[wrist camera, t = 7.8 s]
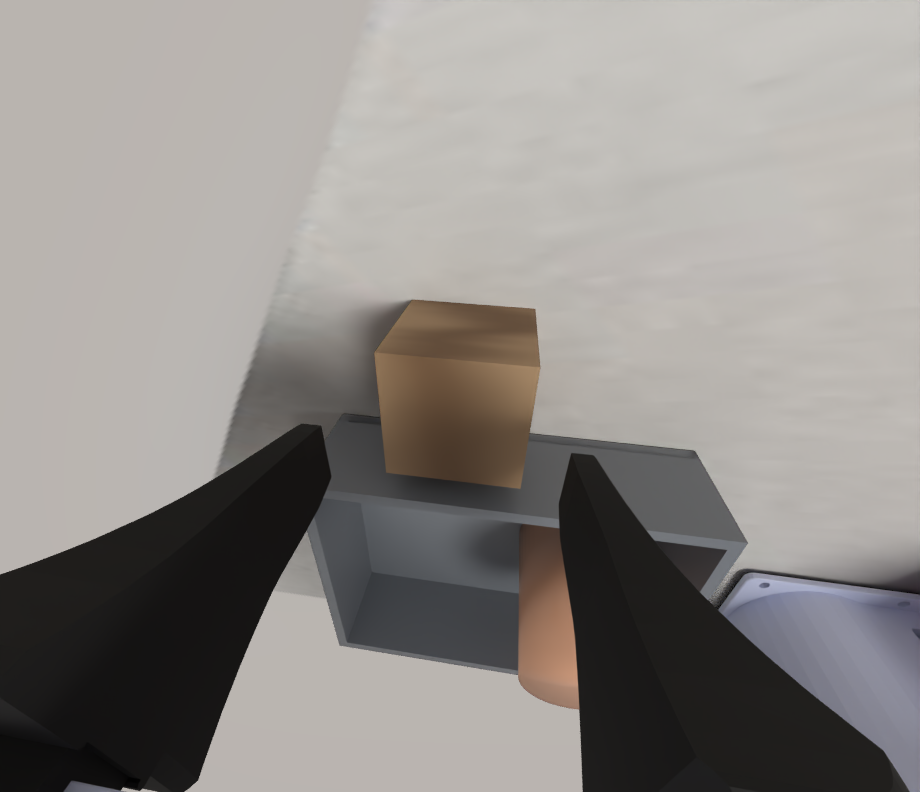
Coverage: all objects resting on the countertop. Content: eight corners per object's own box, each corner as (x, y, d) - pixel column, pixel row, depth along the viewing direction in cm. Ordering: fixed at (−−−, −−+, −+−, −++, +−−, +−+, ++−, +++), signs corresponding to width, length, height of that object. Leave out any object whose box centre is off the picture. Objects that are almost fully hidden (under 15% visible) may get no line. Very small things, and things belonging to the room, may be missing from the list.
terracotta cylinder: (561, 491, 20) (578, 637, 14) (632, 536, 21) (676, 689, 15) (500, 537, 22) (493, 677, 16) (567, 575, 23) (582, 719, 17)
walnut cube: (535, 308, 15) (540, 367, 11) (520, 410, 18) (520, 488, 14) (412, 299, 16) (374, 352, 12) (416, 400, 19) (386, 472, 14)
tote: (695, 451, 18) (748, 543, 14) (622, 604, 25) (642, 695, 21) (343, 413, 20) (294, 485, 15) (368, 567, 27) (339, 645, 22)
